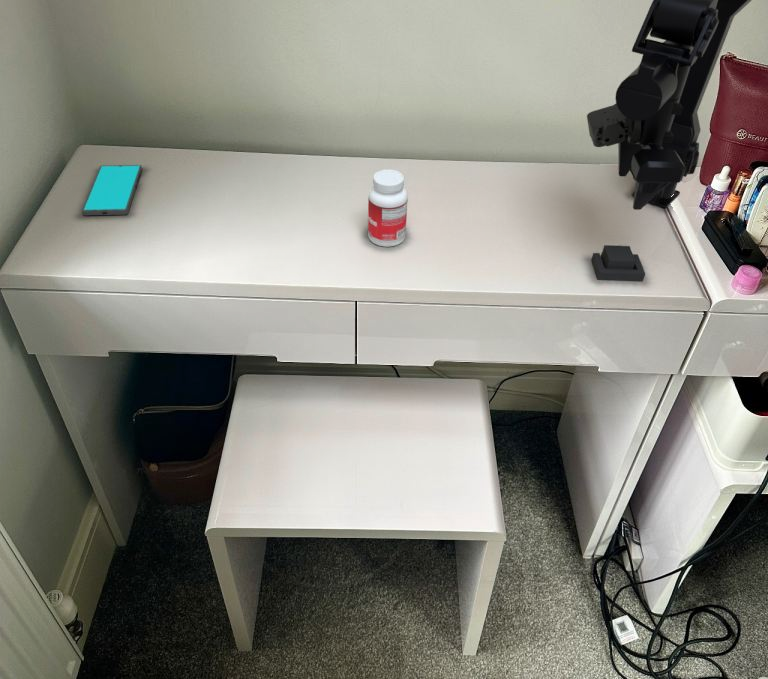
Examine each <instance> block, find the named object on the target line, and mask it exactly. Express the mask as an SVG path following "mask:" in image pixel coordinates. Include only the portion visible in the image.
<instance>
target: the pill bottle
mask: <svg viewBox="0 0 768 679" xmlns="http://www.w3.org/2000/svg"><path fill="white" fill-rule="evenodd" d="M372 179H373V180H372V186H371V187H370V189H369V190H368V194H367V195H368V196H367V201H368V203H367V237H368V239H369V240H370V242H371V243H373V244H375V245H376V246H380V247H388V248H389V247H395V246H398V245H400V244H402V242H404V240H405V238H406V236H407V235H406V233H407V216H408V201H409V195H408V191H407V189H406V188H405V187H404V186H405V176H404V174H403V173H401V172H400V171H399V170H395V169H390V168H389V169H379V170H378V171H376V172H375V173H374V174H373V177H372Z"/></svg>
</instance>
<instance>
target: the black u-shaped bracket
mask: <svg viewBox="0 0 768 679" xmlns="http://www.w3.org/2000/svg"><path fill="white" fill-rule="evenodd" d="M633 256H634V258H635V261H636V262H635V265H634V268H633V270H630V269H605V268H604V265H603V262H602V259H601V252H592V256H591V259H590V261H591V264H592V267H593V270H594V274H595V277H596V280H597V281H623V282H644V280H645V277H646V272H645V268H644V266H643V264H642V261H641V259H640V257H639V255H638V254H637V253H633Z"/></svg>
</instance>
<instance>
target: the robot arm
mask: <svg viewBox="0 0 768 679" xmlns="http://www.w3.org/2000/svg"><path fill="white" fill-rule="evenodd" d="M751 2H752V0H652V2H651V4H650V6H649V8H648V11H647V14H646V15H645V18H644V20H643V23H642V25H641V27H640V30H639V32H638V34H637V37H636V38H635V41H634V44H633V46H632V48H631V52H632V53H636V54H639V55H642V57H641V60H640V63H639V64H638V66H637V67H636V68H635V69H634V70H633V71H632V72H631V73H630V74H629V75H628V76H627V77H626V78H625V79H623V80H622V81H621V82H620V84H619V85H618V87H617V88H616V92H615V103H614V104H612V105H609V106H606V107H602V108H599V109H596V110H592V111H590V112H588V113H587V114H586V121H587V126H588V132H589V138H590V139H591V141H592V145H593V146H594V147H595V148H602V147H611V146H614V145H618V146H617V147H618V150H617V152H618V176H619V177H620V178H621V177H624V178H625V177H627V175H628V174H629V173H630V174H631V176H632V178H633V180H634V181H635V187H634V191H632V193H631V196H632V197H633V201H632V209H633V211H634V210H635V211H640V210H642V209H643V208H644V207H645V206H646V205H647V204H648V203H650V204H653V205H655V206H657V207H660V208H663V209H667V208H668V207H669V206H670V205H672V203H673V202H674V201H675V200H676V199H677V198H678V197H679V196H680V194H681V191H679V190H678V189H677V187H678V184H679V183H680V182H682V181H683V178H686V177H687V176H688V175H694V173H695V172H696V168H697V167H698V163H699V158H700V143H699V142H698V139H699V136H700V133H701V125H700V120H699V114H698V111H699V109H700V106H701V103H702V101H703V98H704V96H705V93H706V91H707V88H708V85H709V83H710V80H711V78H712V75H713V72H714V69H715V68H716V64H717V62H718V59H719V57H720V54H721V52H722V49H723V46H724V44H725V41H726V38H727V37H728V33H729V31H730V29H731V26H732V23H733V21H734V19H735V16H736V15H738V14H739V13H740V12H741V11H742V10H743V9H744V8H745V7H746V6H747V5H749V3H751ZM648 36H650V37H651V38H656V39H659V40H663V41H658V40H654V39H650V38H648ZM673 194H674V195H673ZM672 195H673V196H672ZM671 196H672V197H671Z"/></svg>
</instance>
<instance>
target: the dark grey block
mask: <svg viewBox="0 0 768 679" xmlns="http://www.w3.org/2000/svg"><path fill="white" fill-rule="evenodd" d="M633 254H634V253H633V252H632V249H631V246H630V245H614V244H613V245H609V244H608V245H607V244H604V246H603V248H602V250H601V254H600V256H601V259H602V262H603V265H604V268H605V269H630V270H633V268H634V265H635V262H636V261H635V258H634V256H633Z"/></svg>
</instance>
